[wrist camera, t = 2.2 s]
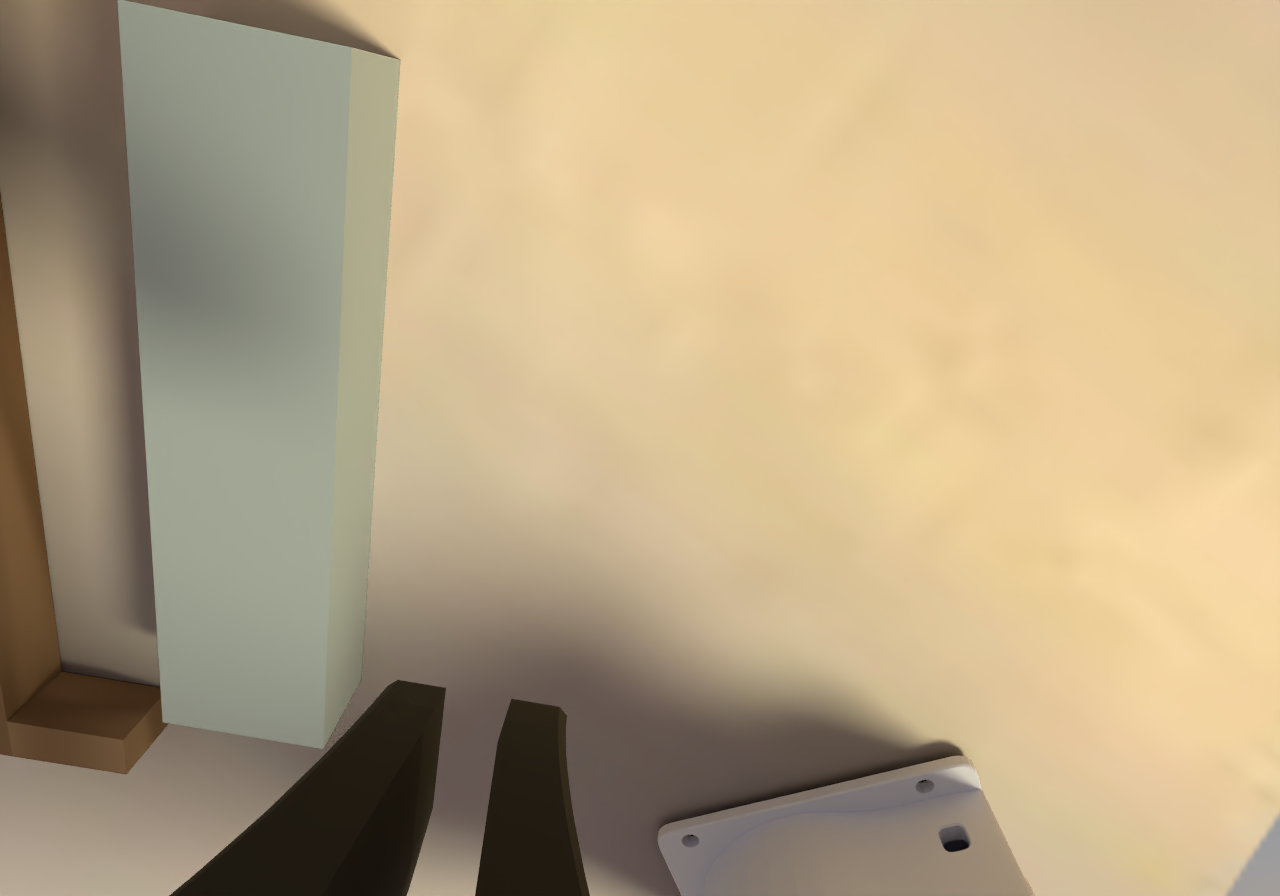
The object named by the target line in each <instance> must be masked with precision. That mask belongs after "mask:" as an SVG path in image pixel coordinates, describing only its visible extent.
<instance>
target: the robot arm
mask: <svg viewBox="0 0 1280 896" xmlns="http://www.w3.org/2000/svg"><path fill="white" fill-rule="evenodd" d="M445 691H446V688H442V687H436V686H430V685H424V684H418V683H412V682H406V681H400V680H397V681H395V682H394V683H392V684H390V685H389V686H387V688H386V689H385V690H384V691H383V692H382V693H381V695H380V696H379V697H378V698H377V699H376V700H375V701H374V703H373V704H372V705H371V706H370V707H369V708H368V709H367V710H366V712H365V713H364V714H363V715H362V716H361V717H360V718H359V719H358V720H357V721H356V722H355V724H354V725H353V726H352V727H351V728H350V729H349V730H348V731H347V732H346V733H345V734H344V735H343V736H342V737H341V738H340V739H339V740H338V741H337V742H336V743H335V745H334V746H333V747H332V748H331V749H330V750H329V751H328V752H327V753H326V754H325V755H324V756H323V757H322V758H321V759H320V760H319V761H318V762H317V763H316V764H315V765H314V766H313V767H312V768H311V769H310V770H309V771H308V772H307V773H306V774H305V775H303V776H302V777H301V778H300V779H299V780H298V781H297V782H296V783H295V784H294V785H293V786H292V787H291V788H290V789H289V790H288V791H287V792H286V793H285V794H284V795H283V796H282V797H281V798H280V799H279V800H278V801H277V802H276V803H275V804H274V805H273V806H271V807H270V808H269V809H268V810H267V811H266V812H265V813H264V814H263V815H262V816H261V817H260V818H258V819H257V820H256V821H255V822H254V823H253V824H252V825H251V826H249V827H248V828H247V829H246V830H245V831H244V832H243V833H241V834H240V835H239V836H238V837H237V838H236V839H235V840H234V841H232V842H231V843H230V844H229V845H228V846H227V847H226V848H224V849H223V850H222V851H221V852H220V853H219V854H218V855H217V856H215V857H214V858H213V859H212V860H211V861H210V862H209V863H207V864H206V865H205V866H204V867H203V868H202V869H201V870H200V871H198V872H197V873H196V874H195V875H194V876H192V877H191V878H190V879H189V880H188V881H186V882H185V883H184V884H183V885H182V886H180V887H179V888H178V889H177V890H176V891H174V892H173V893H172V894H171V895H169V896H406V895H407V893H408V890H409V887H410V883H411V880H412V877H413V873H414V870H415V867H416V863H417V860H418V857H419V853H420V850H421V846H422V843H423V839H424V836H425V833H426V829H427V826H428V822H429V819H430V815H431V812H432V808H433V800H434V791H435V782H436V773H437V764H438V755H439V745H440V736H441V727H442V718H443V709H444V700H445ZM566 718H567V716H566V714H565V713H564V712H563V711H562V709H561V708H560V707H557V706H551V705H545V704H539V703H533V702H527V701H521V700H514V699H511V702H510V706H509V709H508V712H507V715H506V718H505V721H504V724H503V727H502V731H501V734H500V737H499V740H498V745H497V752H496V758H495V765H494V772H493V779H492V786H491V792H490V799H489V806H488V813H487V820H486V826H485V833H484V840H483V847H482V853H481V860H480V867H479V874H478V881H477V887H476V894H475V896H590V895H589V890H588V886H587V882H586V877H585V873H584V868H583V863H582V858H581V853H580V848H579V843H578V838H577V833H576V828H575V822H574V816H573V810H572V804H571V797H570V789H569V780H568V772H567V760H566ZM922 780H927V781H925V782H923V783H918V782H919V781H922ZM686 835H694V836H686ZM658 846H659V849H660V851H661V853H662V855H663V857H664V859H665V862H666V864H667V866H668V868H669V870H670V872H671V874H672V876H673V879H674V881H675V883H676V885H677V887H678V889H679V891H680V894H681V896H1035V895H1034V893H1033V891H1032V889H1031V887H1030V885H1029V883H1028V881H1027V880H1026V878H1025V877H1024V876H1023V874H1022V872H1021V870H1020V868H1019V866H1018V864H1017V862H1016V859H1015V857H1014V855H1013V853H1012V851H1011V849H1010V847H1009V845H1008V843H1007V841H1006V839H1005V837H1004V835H1003V832H1002V830H1001V828H1000V826H999V824H998V822H997V820H996V818H995V816H994V814H993V812H992V810H991V808H990V805H989V803H988V801H987V799H986V797H985V795H984V793H983V791H982V789H981V785H980V781H979V777H978V773H977V771H976V769H975V767H974V765H973V763H972V761H971V760H970V759H968V758H967V757H964V756H951V757H947V758H943V759H938V760H934V761H930V762H926V763H921V764H917V765H913V766H909V767H905V768H900V769H896V770H892V771H888V772H883V773H879V774H875V775H871V776H867V777H862V778H858V779H854V780H850V781H845V782H841V783H837V784H833V785H829V786H824V787H820V788H816V789H812V790H807V791H803V792H799V793H795V794H790V795H786V796H782V797H778V798H774V799H769V800H765V801H761V802H757V803H752V804H748V805H744V806H740V807H736V808H731V809H727V810H723V811H719V812H714V813H710V814H706V815H702V816H698V817H693V818H689V819H685V820H681V821H676V822H672V823H669V824H666V825H664V826H663V827H661V828H660V829H659V832H658Z"/></svg>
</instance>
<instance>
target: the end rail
mask: <svg viewBox="0 0 1280 896" xmlns="http://www.w3.org/2000/svg"><path fill="white" fill-rule="evenodd" d="M168 724H169V723H164V722H163V720H162V704H161V688H159V687H152V686H146V685H140V684H134V683H128V682H122V681H116V680H110V679H103V678H97V677H91V676H85V675H79V674H73V673H67V672H62V669H61V661H60V653H59V645H58V638H57V630H56V622H55V614H54V607H53V599H52V591H51V583H50V576H49V568H48V560H47V552H46V545H45V537H44V529H43V521H42V514H41V506H40V498H39V490H38V483H37V475H36V467H35V459H34V452H33V444H32V436H31V428H30V421H29V413H28V405H27V397H26V390H25V382H24V374H23V366H22V359H21V351H20V343H19V335H18V328H17V320H16V312H15V304H14V297H13V289H12V281H11V273H10V266H9V258H8V250H7V242H6V235H5V227H4V219H3V211H2V204H1V196H0V754H2V755H8V756H14V757H21V758H27V759H33V760H40V761H46V762H52V763H59V764H65V765H71V766H77V767H84V768H90V769H96V770H103V771H109V772H115V773H122V774H127V773H128V772H129V771H130V769H131V768H132V767H133V766H134V765H135V763H136V762H137V761H138V760H139V759H140V757H141V756H142V755H143V754H144V752H145V751H146V750H147V749H148V748H149V746H150V745H151V744H152V743H153V742H154V740H155V739H156V738H157V737H158V736H159V734H160V733H161V732H162V731H163V730H164V728H165V727H166V726H167V725H168Z"/></svg>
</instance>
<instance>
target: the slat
mask: <svg viewBox="0 0 1280 896" xmlns="http://www.w3.org/2000/svg"><path fill="white" fill-rule="evenodd" d="M117 1H118V17H119V33H120V49H121V65H122V81H123V97H124V113H125V129H126V145H127V161H128V177H129V193H130V209H131V225H132V241H133V257H134V273H135V289H136V305H137V321H138V337H139V353H140V369H141V385H142V401H143V417H144V433H145V449H146V465H147V481H148V497H149V513H150V529H151V545H152V561H153V577H154V593H155V609H156V625H157V640H158V656H159V672H160V688H161V704H162V720H163V722H164V723H170V724H176V725H182V726H188V727H194V728H200V729H206V730H212V731H218V732H224V733H230V734H236V735H242V736H247V737H253V738H259V739H265V740H271V741H277V742H283V743H289V744H295V745H301V746H307V747H313V748H319V749H323V748H324V747H325V745H326V743H327V741H328V739H329V738H330V736H331V734H332V732H333V730H334V728H335V727H336V725H337V723H338V721H339V719H340V718H341V716H342V714H343V712H344V710H345V709H346V707H347V705H348V703H349V701H350V700H351V698H352V696H353V694H354V692H355V690H356V689H357V687H358V685H359V683H360V681H361V679H362V663H363V647H364V631H365V615H366V599H367V584H368V568H369V552H370V536H371V520H372V504H373V488H374V473H375V457H376V441H377V425H378V409H379V393H380V377H381V362H382V346H383V330H384V314H385V298H386V282H387V266H388V250H389V235H390V219H391V203H392V187H393V171H394V155H395V139H396V124H397V108H398V92H399V76H400V60H399V59H395V58H391V57H387V56H383V55H379V54H376V53H372V52H368V51H364V50H360V49H356V48H352V47H348V46H343V45H338V44H333V43H328V42H324V41H319V40H314V39H309V38H304V37H300V36H295V35H290V34H285V33H280V32H275V31H271V30H266V29H261V28H256V27H251V26H247V25H242V24H237V23H232V22H227V21H222V20H218V19H213V18H208V17H203V16H198V15H194V14H189V13H184V12H179V11H174V10H169V9H165V8H160V7H155V6H150V5H145V4H141V3H136V2H131V1H126V0H117Z"/></svg>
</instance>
